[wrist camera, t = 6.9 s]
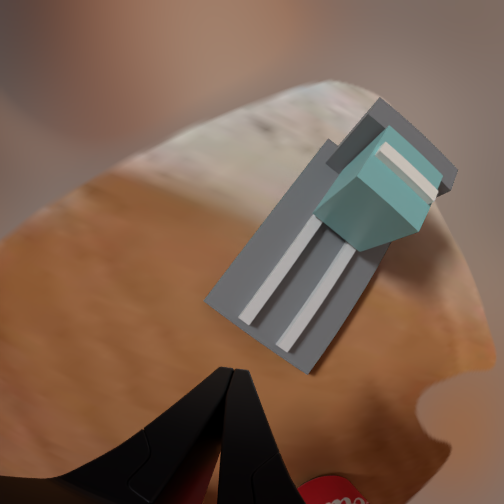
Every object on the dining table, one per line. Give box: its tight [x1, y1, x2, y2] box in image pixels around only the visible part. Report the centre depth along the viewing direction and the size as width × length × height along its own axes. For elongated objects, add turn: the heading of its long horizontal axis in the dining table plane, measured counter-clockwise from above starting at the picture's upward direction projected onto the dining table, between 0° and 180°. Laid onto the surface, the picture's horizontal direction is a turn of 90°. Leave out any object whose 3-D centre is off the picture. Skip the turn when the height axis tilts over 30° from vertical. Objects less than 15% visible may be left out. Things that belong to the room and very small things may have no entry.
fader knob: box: [312, 125, 443, 252], centre depth 18 cm, size 4×4×8 cm
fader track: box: [204, 98, 458, 375], centre depth 19 cm, size 16×9×8 cm, turn 143°
